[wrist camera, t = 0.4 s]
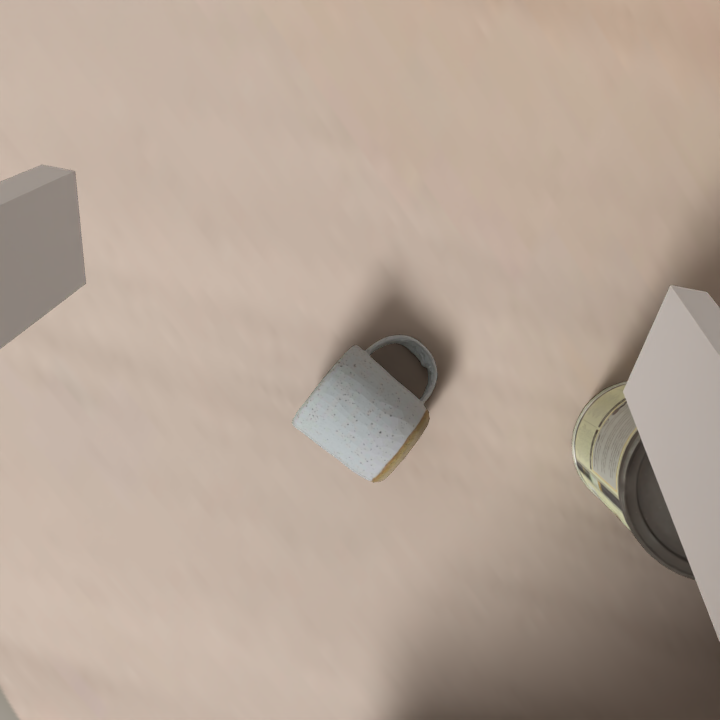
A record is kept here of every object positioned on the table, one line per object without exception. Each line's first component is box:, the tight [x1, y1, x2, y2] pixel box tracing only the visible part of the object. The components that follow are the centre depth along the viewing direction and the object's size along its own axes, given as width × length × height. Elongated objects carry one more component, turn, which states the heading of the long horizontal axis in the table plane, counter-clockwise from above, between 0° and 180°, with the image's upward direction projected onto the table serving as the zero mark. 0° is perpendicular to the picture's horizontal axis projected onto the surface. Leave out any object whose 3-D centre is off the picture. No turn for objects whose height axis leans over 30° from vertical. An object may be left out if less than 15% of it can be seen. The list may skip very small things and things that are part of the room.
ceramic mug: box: [292, 335, 437, 482], centre depth 46 cm, size 11×8×8 cm
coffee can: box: [572, 381, 695, 580], centre depth 41 cm, size 10×10×14 cm
